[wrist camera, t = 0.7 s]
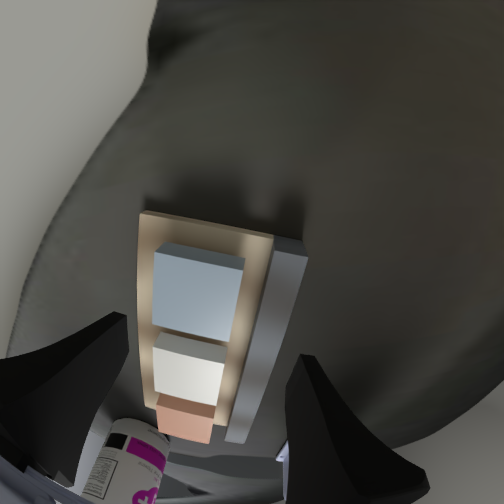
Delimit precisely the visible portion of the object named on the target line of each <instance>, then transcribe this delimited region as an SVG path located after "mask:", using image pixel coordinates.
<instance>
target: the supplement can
mask: <svg viewBox="0 0 504 504" xmlns="http://www.w3.org/2000/svg"><path fill="white" fill-rule="evenodd" d="M169 450H170V443H169V441H168V440H167V438H166V437H165V435H164V434H163V433H161V432H159V431H158V429H157V428H155V427H153V426H151V425H149V424H148V423H145V422H142V421H140V420H136V419H132V418H123V419H118V420H116V421H114V423H113V425H112V427H111V429H110V431H109V433H108V435H107V437H106V440H105V442H104V444H103V446H102V449H101V451H100V453H99V455H98V457H97V460H96V462H95V464H94V466H93V469H92V471H91V473H90V476H89V478H88V480H87V483H86V485H85V487H84V490H83V492H82V495H81V497H83V498H85V499H87V500H89V501H91V502H93V503H95V504H154V503H155V500H156V496H157V492H158V489H159V485H160V482H161V478H162V474H163V471H164V467H165V464H166V460H167V457H168V453H169Z"/></svg>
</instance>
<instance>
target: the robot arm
mask: <svg viewBox="0 0 504 504" xmlns="http://www.w3.org/2000/svg"><path fill="white" fill-rule="evenodd" d="M128 352H129V344H128V331H127V315H124V314H121V313H118V312H115V311H114V312H112V313H110V314H108V315H106V316H105V317H103V318H101V319H99V320H98V321H96V322H94V323H93V324H91V325H89V326H87V327H85V328H84V329H82V330H80V331H78V332H76V333H75V334H73V335H71V336H69V337H66V338H64V339H62V340H60V341H58V342H56V343H54V344H52V345H49V346H47V347H44V348H42V349H39V350H36V351H33V352H29V353H26V354H22V355H19V356H15V357H10V358H5V359H0V504H56V502H55V500H57V501H58V502H60V503H62V504H95V503H93V502H91V501H89V500H87V499H85V498H83V497H81V496H79V495H77V494H75V493H73V492H71V491H69V490H67V489H65V488H64V487H72V486H74V482H75V477H76V472H77V468H78V463H79V460H80V456H81V453H82V449H83V446H84V443H85V440H86V437H87V435H88V432H89V429H90V427H91V424H92V422H93V419H94V417H95V414H96V412H97V410H98V408H99V406H100V405H101V403H102V401H103V400H104V398H105V396H106V394H107V393H108V391H109V389H110V388H111V386H112V384H113V383H114V381H115V379H116V378H117V376H118V374H119V372H120V371H121V369H122V366H123V364H124V362H125V360H126V357H127V355H128ZM285 414H286V426H287V437H288V440H287V442H286V443H285V445H284V446H283V448H282V449H281V451H280V452H279V454H278V455H277V457H276V460H277V461H283V494H284V499H285V501H286V504H411V503H413V502H415V501H416V500H418V499H420V498H421V497H423V496H424V495H425V494H427V493H428V491H429V490H430V486H429V482H428V479H427V476H426V473H425V471H424V469H422V468H420V467H418V466H416V465H415V464H413V463H411V462H409V461H407V460H406V459H404V458H403V457H401V456H400V455H398V454H397V453H395V452H394V451H393V450H391V449H390V448H389V447H387V446H386V445H385V444H384V443H382V442H381V441H380V440H379V439H378V438H377V437H376V436H374V435H373V434H372V433H371V432H370V431H369V430H368V429H367V428H366V427H365V426H364V425H363V424H362V423H361V422H360V420H359V419H358V418H357V417H356V416H355V415H354V414H353V412H352V411H351V410H350V409H349V407H348V406H347V405H346V404H345V402H344V401H343V400H342V398H341V397H340V395H339V394H338V392H337V391H336V389H335V388H334V387H333V385H332V384H331V382H330V380H329V379H328V377H327V376H326V374H325V372H324V371H323V369H322V368H321V366H320V364H319V363H318V361H317V359H316V358H315V356H311V355H304V354H300V355H299V358H298V360H297V362H296V365H295V367H294V369H293V372H292V374H291V376H290V378H289V381H288V383H287V385H286V395H285ZM47 477H48V478H50V479H51V480H54V481H56V482H57V483H59V484H61V485H63V486H64V487H62V486H60V485H58V484H56V483H55V482H53V481H51V480H50V479H48V478H47ZM54 499H55V500H54Z"/></svg>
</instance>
